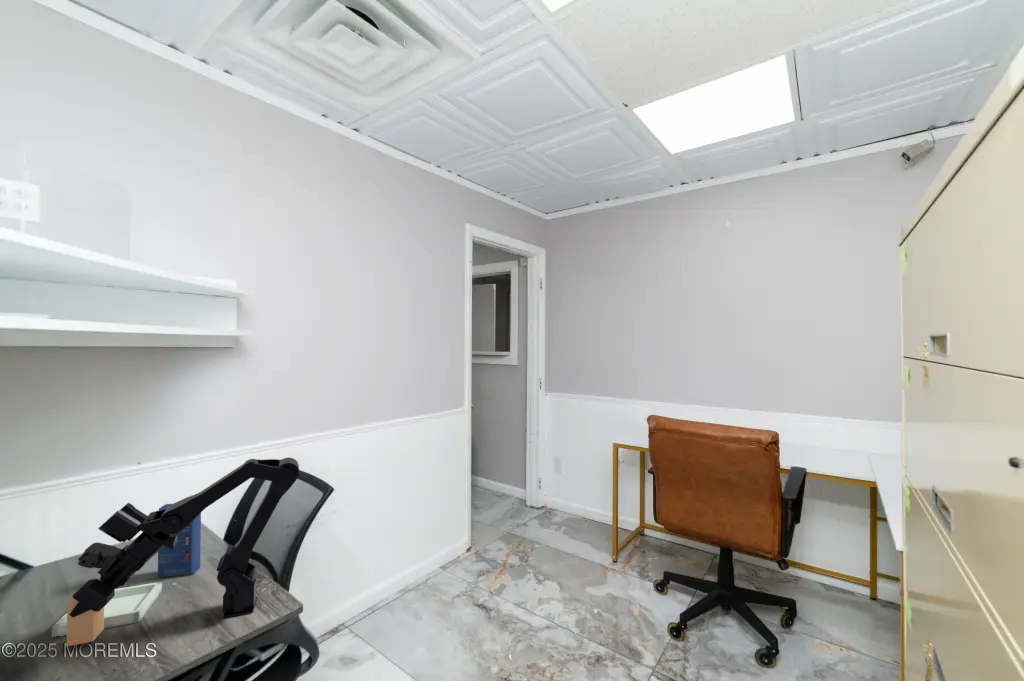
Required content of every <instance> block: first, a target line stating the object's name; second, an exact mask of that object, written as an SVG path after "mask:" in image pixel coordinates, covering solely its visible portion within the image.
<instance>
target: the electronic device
mask: <svg viewBox="0 0 1024 681" xmlns="http://www.w3.org/2000/svg"><path fill="white" fill-rule="evenodd" d="M172 504H173V503H166V504H165V503H164V505H162V506H160V507H159V508H158V511H159V510H163V509H167V508H168V507H169V506H170V505H172ZM201 529H202V512H201V513H200V514H199V515H198V516H197V517H196V518H195V519H194V520H193V521H192V522H191V523H190V524H188V525H187V526H186V527H185V528H184V529H183V530H182V531H180V532H178V536H177V538H178V542H177V544H176V545H175V547H174V548H173V549H169V548H168V547H166V546H165V545H164V546H163V547H162V548H161V549H160V550H159V551H158V552H157V578H163V577H173V576H174V577H175V576H185V575H195V574H196V573H197V572H198V571H199V569H201V543H202V542H201V540H202V537H201V536H202V535H201V534H202V532H201Z"/></svg>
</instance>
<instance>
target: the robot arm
mask: <svg viewBox="0 0 1024 681" xmlns="http://www.w3.org/2000/svg"><path fill="white" fill-rule="evenodd" d="M299 464H300V463H299V462H298V460H297V459H295V458H294V457H285V458H282V459H276V458H275V459H274V458H268V459H256V458H249V459H247V460H245V461H244V462H243V463H242V464H241V465H240V466H238V467H237V468H235V469H233V470H232V471H230V472H229V473H227V474H225V475H224V476H223V477H220V479H218V480H216V481H215V482H213V483H211V484H210V485H209V486H207V487H206V488H204V489H203V490H201V491H199V492H198V493H195V494H193V495H192V494H191V495H190V496H187V497H185V498H183V499H182V498H181V499H180V500H178V501H176V502H173V503H171V504H172V505H170V506H169V507H168V508H167V509H163V510H159V509H158V510H155V511H152V512H150V513H149V514H148V515H147V514H145V513H143V512H142V511H140V510H139V509H138V508H136V507H135V506H134V505H133V504H131V503H130V502H127V503H126V504H125V505H124V506H122V508H120V509H119V510H117V511H116V512H114V513H113V514H112V515H111V516H110V517H109V518H108V519H106V520H105V521H104V522H103V523H102V524H101V525H100V526H99V527H98V528H97V529H98V530H99V531H100V532H102V533H103V534H105V535H107V536H109V537H110V538H112V539H114V540H115V541H118V542H119V543H121V542H122V543H125V542H126V541H131V540H133V541H131V542H130V543H129V544H126V545H125V546H124V547H123V548H120V547H117V546H114V545H112V544H111V545H110V544H107V543H102V542H93V543H91V544H90V545H89V546H88V547H86V549H84V551H83V553H82V555H81V556H79V557H78V559H77V560H78V562H77V565H78V566H79V567H82V568H88V569H93V568H95V569H99V570H97V572H96V573H98V574H99V576H100V577H99V579H98V578H92V579H89V580H87V581H86V582H85V583H84V584H83V585H82V586H81V587H80V588H79V589H77V591H76V592H74V593H73V594H72V596H73V599H75V600H77V601H78V603H77V605H76V606H75V607H74V609H73V610H72V612H71V613H70V614H69V615H70V616H71V617H76V616H78V615H80V614H82V613H84V612H87V611H89V610H93V611H95V612H99V611H100V610H101V609H102V608H103V607H104V606H105V605H106V604H107V603H108V602H109V601H110V600H111V599H112V598H113V597H114V596H115V590H114V589H119V588H120V587H124V585H125V584H126V583H127V582H128V581H129V580H130V579H131V578H132V577H133V576H134V575H135V574H136V573H137V572H140V570H141V569H142V568H143V566H145V565H146V564H147V562H149V561H150V560H151V559H152V558H153V557H154V556H155V555H156V554H158V551H159V550H160V549H161V548H162V547H163V546H164V545H165V546H166V547H168V548H169V549H173V548H174V547H175V545H176V544H177V542H178V538H177V536H178V532H180V531H182V530H183V529H184V528H185V527H186V526H187V525H188V524H190V523H191V522H192V521H193V520H194V519H195V518H196V517H197V516H198V515H199V514H200V513H201V514H202V512H203V511H204V510H206V509H207V508H208V507H209V506H210V505H212V504H214V503H215V502H218V501H219V500H220V499H221V498H223V497H225V496H226V495H227V494H228V493H230V492H232V491H233V490H235V489H236V488H237V487H239V486H240V485H242V484H244V483H246V482H247V481H248V480H251V479H259V480H263V481H269V482H270V483H269V486H268V488H267V491H266V492H265V494H264V496H263V498H262V500H261V502H260V503H259V505H258V506H257V509H256V510H255V512H254V514H253V515H252V517H251V519H250V521H249V523H248V525H247V526H246V528H245V529H244V531H243V533H242V535H241V537H240V539H239V540H238V541H237V542H236V543H235V545H232V544H230V543H229V544H228V545H227V548H226V550H225V553H224V554H223V555H222V556H221V557H220V558H219V562H218V564H217V568H216V572H217V575H216V580H217V583H218V584H220V585H221V586H223V587H224V588H225V591H224V592H223V595H222V612H223V615H222V617H223V619H226V618H230V617H231V618H232V617H237V616H242V615H246V614H252V613H254V610H255V608H256V605H257V602H258V600H257V599H259V598H258V596H257V578H255V576H256V575H255V574H256V569H257V568H256V567H257V566H256V565H254V563H252V562H250V558H251V555H252V552H253V550H254V548H255V547H256V546H255V545H256V544H257V542H258V540H259V538H260V537H261V535H262V533H263V532H264V529H265V528H266V526H267V524H268V522H269V520H270V518H271V517H272V515H273V513H274V512H275V509H276V507H277V506H278V504H279V502H280V501H281V499H282V497H284V495H285V494H286V493H287V492H288V491H289V490H290V489H291V488H292V486H293V485H294V484H295V482H296V481H297V479H299V475H300V465H299ZM140 532H141V533H140ZM138 533H140V534H139V535H138ZM137 535H138V536H137ZM135 536H137V537H136V538H134V537H135ZM133 538H134V539H133ZM72 596H71V597H72Z"/></svg>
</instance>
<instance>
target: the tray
mask: <svg viewBox="0 0 1024 681" xmlns="http://www.w3.org/2000/svg"><path fill="white" fill-rule="evenodd" d="M114 590H115V596H114V597H113V598H112V599H111V600H110V601H109V602H108V603H107V604H106V605H105V606H104V629H107V628H108V629H109V628H114V627H120V626H124V625H131V624H136V623H139V622H140V621H141V620H142V618H143V617H144V616H145V615H146V613H147V612H148V610H149V609H150V608H151V606H152V605H153V603H154V602H155V601H156V600H157V598H158V597H159V596H160V594H161V593H162V592H163V581H159V582H152V583H146V584H138V585H133V586H128V587H121V588H120V587H118V588H116V589H114ZM64 635H66V636H67V612H66V613H65V614H64V615H63V616H62V617H61V618H60V619H59V620H58V621H56V622H55V623H54V624H53V625H52V626H51V638H52V639H54V638H53V637H55V638H58V636H60V637H65V636H64ZM56 636H57V637H56Z"/></svg>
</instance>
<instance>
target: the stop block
mask: <svg viewBox="0 0 1024 681" xmlns="http://www.w3.org/2000/svg"><path fill="white" fill-rule="evenodd" d="M77 603H78V601H77V600H75V599H73V596H71V597H69V599H68V600H67V601H66V613H67V635H66V647H70V646H76V645H81V644H86V643H91V642H92V643H93V642H94V641H95V640H96V638H97V637H98V636H100V634H101V633H102V631H103V630H104V629H105V628H104V607H103V608H102V609H101V610H100V611H99V612H95V611H93V610H89V611H87V612H84V613H82V614H80V615H78V616H76V617H71V616H70V615H69V614H70V613H71V612H72V610H73V609H74V607H75V606H76V605H77Z"/></svg>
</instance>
